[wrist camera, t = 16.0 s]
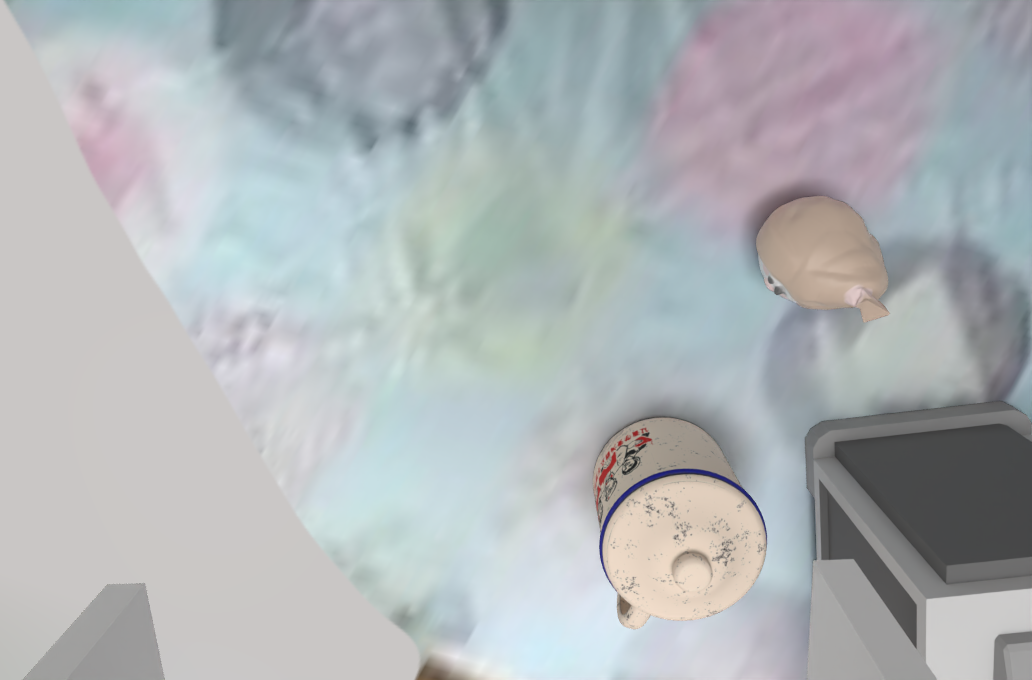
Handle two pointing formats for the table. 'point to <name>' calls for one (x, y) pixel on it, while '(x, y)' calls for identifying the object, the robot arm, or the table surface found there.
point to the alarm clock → (936, 527)
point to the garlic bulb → (822, 257)
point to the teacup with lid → (674, 523)
